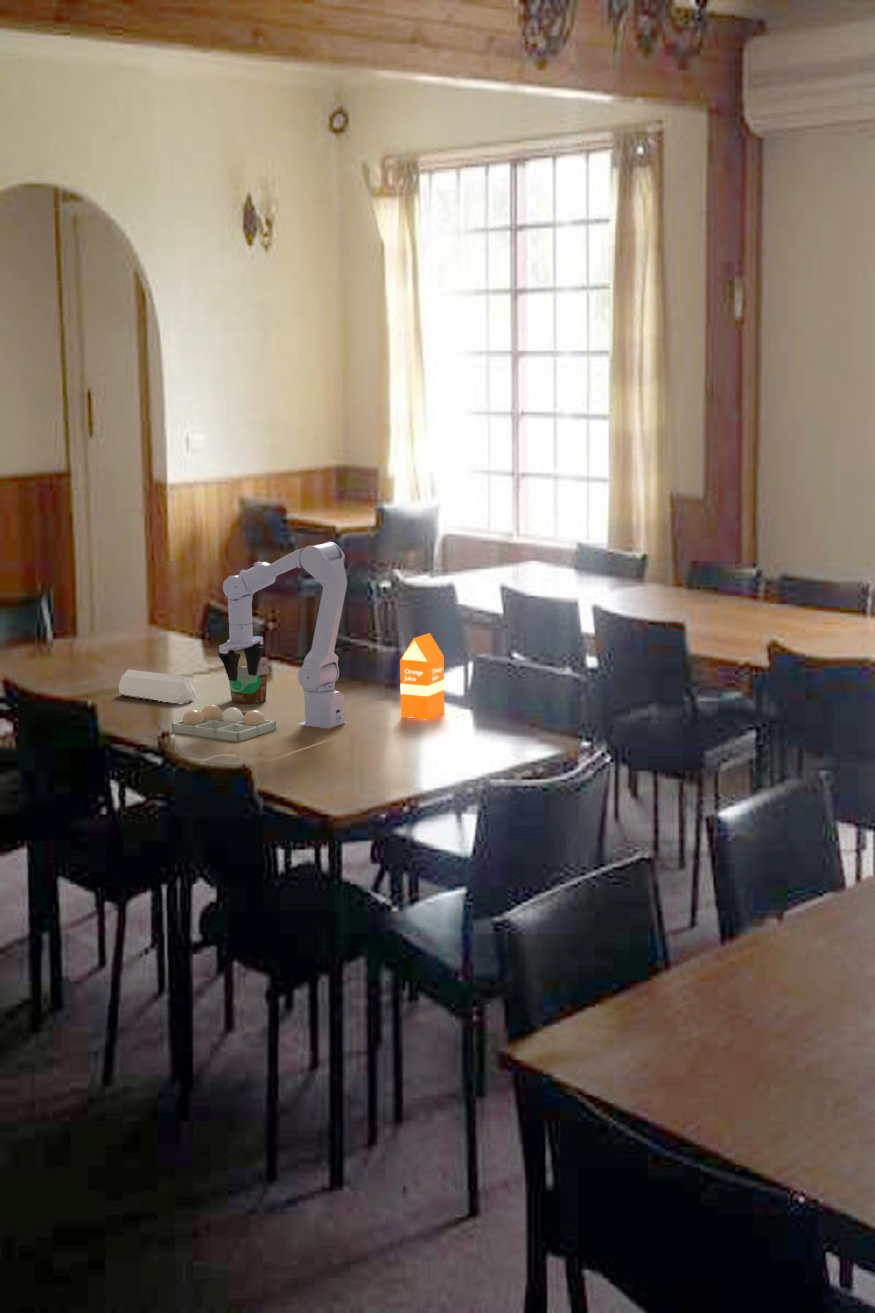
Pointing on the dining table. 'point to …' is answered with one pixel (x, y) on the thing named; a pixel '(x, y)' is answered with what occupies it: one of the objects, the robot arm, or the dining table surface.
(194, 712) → the brown egg
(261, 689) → the food container
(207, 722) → the egg tray
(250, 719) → the brown egg
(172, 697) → the white trapezoid ingot
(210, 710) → the brown egg
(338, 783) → the dining table surface
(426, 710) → the orange juice
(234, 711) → the white egg
